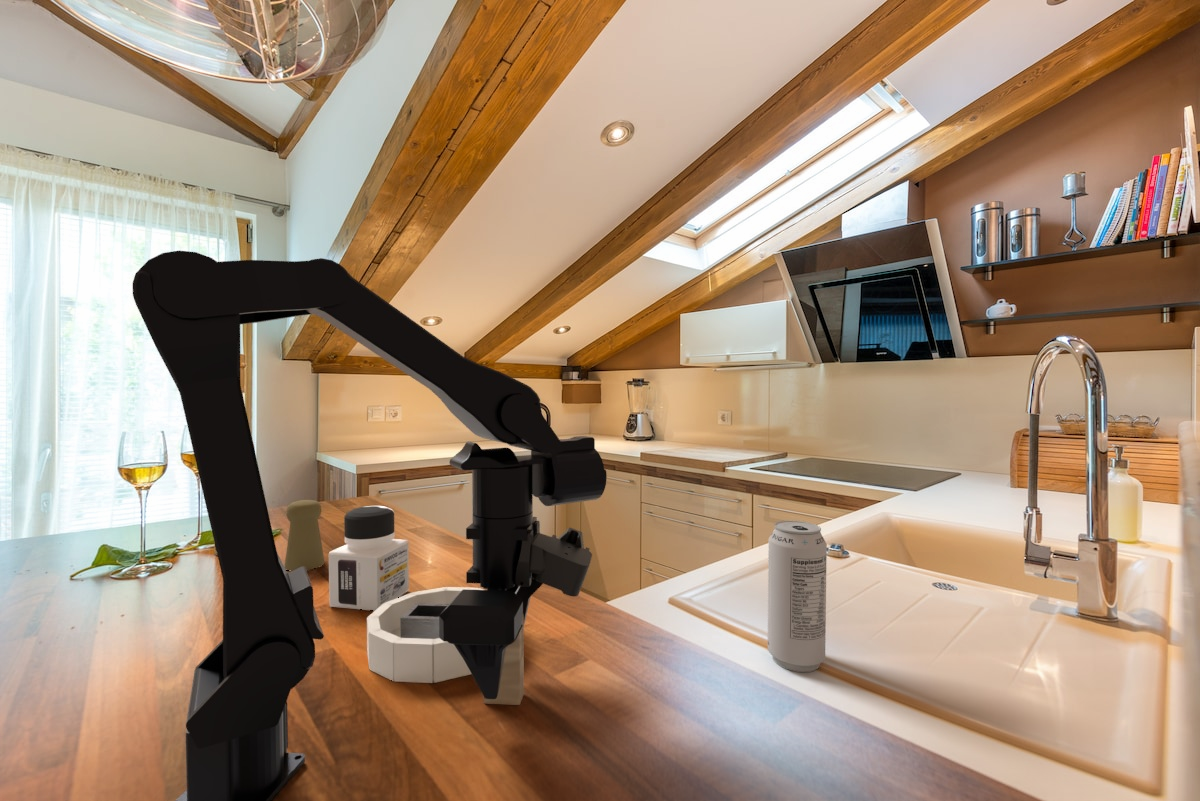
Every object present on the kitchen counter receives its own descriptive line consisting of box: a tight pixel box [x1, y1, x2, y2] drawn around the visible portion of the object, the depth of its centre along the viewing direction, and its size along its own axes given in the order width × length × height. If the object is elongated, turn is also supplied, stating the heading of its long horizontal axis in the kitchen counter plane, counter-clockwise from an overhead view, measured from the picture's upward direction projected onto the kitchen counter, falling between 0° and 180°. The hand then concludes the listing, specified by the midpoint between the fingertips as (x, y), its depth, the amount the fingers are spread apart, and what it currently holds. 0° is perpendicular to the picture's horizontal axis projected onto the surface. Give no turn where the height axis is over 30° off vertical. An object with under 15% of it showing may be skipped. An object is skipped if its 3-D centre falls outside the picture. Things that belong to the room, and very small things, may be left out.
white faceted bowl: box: [366, 586, 485, 684], centre depth 64 cm, size 16×16×4 cm
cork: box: [284, 499, 326, 571], centre depth 92 cm, size 6×6×11 cm
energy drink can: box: [767, 520, 828, 673], centre depth 60 cm, size 6×6×15 cm
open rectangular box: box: [400, 603, 449, 639], centre depth 64 cm, size 5×8×3 cm, turn 86°
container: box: [328, 505, 410, 612], centre depth 77 cm, size 8×8×13 cm
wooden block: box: [483, 614, 525, 706], centre depth 53 cm, size 2×4×8 cm, turn 86°
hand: (503, 671), depth 53 cm, fingers open, 9 cm apart
